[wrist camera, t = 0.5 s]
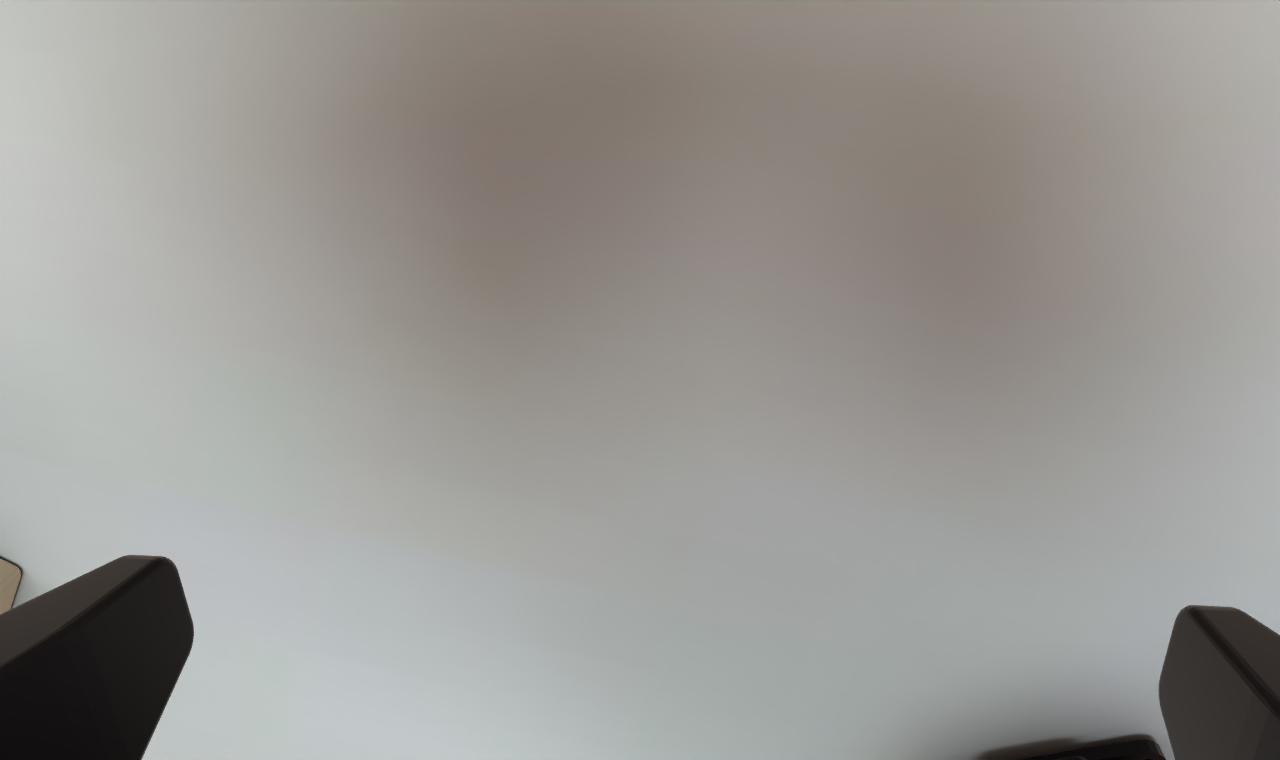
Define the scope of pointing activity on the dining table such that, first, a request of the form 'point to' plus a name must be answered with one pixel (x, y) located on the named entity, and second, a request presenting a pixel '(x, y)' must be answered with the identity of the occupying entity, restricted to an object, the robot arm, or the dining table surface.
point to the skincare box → (8, 584)
